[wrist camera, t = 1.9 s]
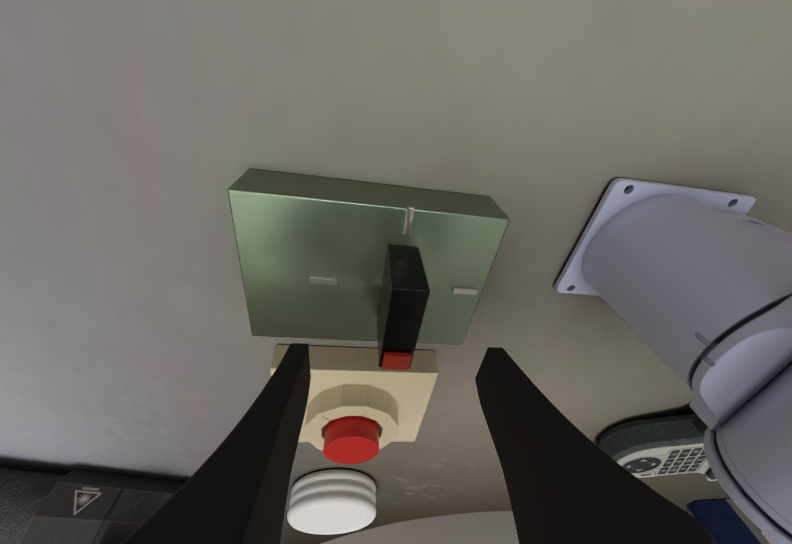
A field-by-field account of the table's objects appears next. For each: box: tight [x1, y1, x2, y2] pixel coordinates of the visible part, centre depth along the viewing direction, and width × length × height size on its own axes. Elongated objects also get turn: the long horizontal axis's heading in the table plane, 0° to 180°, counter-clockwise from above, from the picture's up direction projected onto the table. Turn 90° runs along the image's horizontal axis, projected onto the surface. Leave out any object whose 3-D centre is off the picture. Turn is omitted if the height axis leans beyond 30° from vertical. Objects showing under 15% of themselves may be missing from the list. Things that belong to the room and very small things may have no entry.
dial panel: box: [228, 169, 509, 345], centre depth 18 cm, size 13×9×3 cm
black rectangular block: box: [377, 245, 430, 370], centre depth 15 cm, size 5×2×4 cm, turn 172°
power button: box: [323, 416, 379, 464], centre depth 23 cm, size 4×4×2 cm
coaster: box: [287, 469, 376, 535], centre depth 36 cm, size 10×10×4 cm
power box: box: [270, 345, 438, 450], centre depth 25 cm, size 12×10×4 cm
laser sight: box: [0, 468, 186, 544], centre depth 29 cm, size 10×22×10 cm, turn 62°
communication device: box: [598, 413, 717, 481], centre depth 31 cm, size 12×24×9 cm, turn 104°
